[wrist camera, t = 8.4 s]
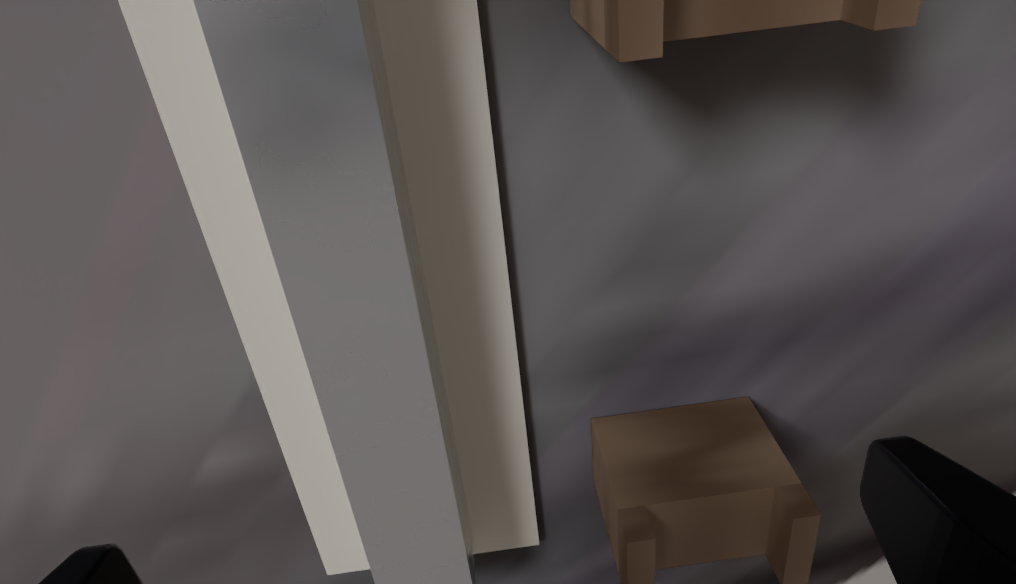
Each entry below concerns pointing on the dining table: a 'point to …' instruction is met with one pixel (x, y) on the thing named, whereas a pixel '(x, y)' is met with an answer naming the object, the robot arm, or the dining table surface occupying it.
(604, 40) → the post
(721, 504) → the post
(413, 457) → the rail
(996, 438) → the dining table surface
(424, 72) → the mat
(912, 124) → the dining table surface
